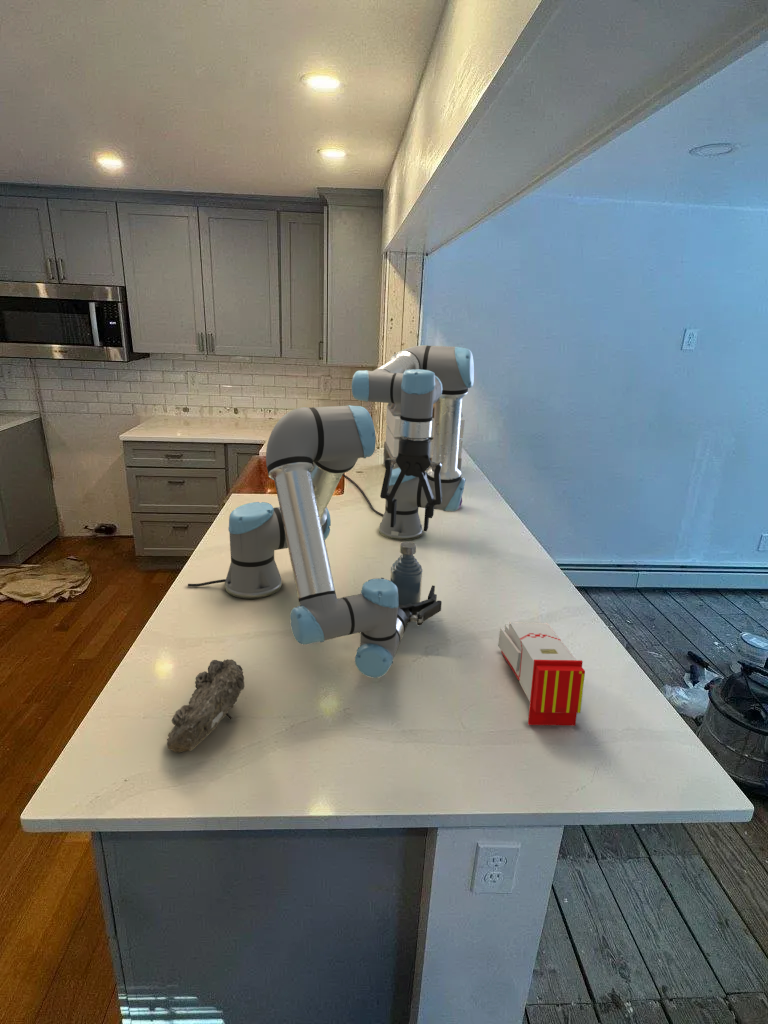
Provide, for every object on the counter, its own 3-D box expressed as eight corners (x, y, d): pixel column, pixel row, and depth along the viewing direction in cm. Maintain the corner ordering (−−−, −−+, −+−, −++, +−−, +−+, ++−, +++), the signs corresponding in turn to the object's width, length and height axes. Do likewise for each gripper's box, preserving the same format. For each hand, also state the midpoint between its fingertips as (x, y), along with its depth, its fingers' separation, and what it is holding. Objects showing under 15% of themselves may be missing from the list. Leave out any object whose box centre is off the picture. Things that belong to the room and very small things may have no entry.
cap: (400, 548, 146) (400, 540, 145) (415, 549, 145) (416, 541, 145) (399, 554, 142) (400, 547, 141) (415, 555, 142) (416, 548, 141)
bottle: (389, 602, 153) (392, 538, 147) (419, 603, 153) (424, 540, 147) (388, 617, 146) (391, 551, 139) (419, 619, 145) (424, 553, 139)
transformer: (382, 463, 289) (386, 382, 275) (445, 464, 293) (451, 384, 279) (390, 482, 257) (394, 392, 243) (460, 483, 261) (468, 394, 247)
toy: (544, 607, 134) (594, 667, 105) (539, 659, 137) (586, 732, 108) (493, 606, 134) (529, 666, 105) (489, 658, 137) (523, 731, 107)
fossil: (192, 660, 117) (244, 628, 112) (224, 691, 120) (276, 661, 115) (142, 746, 98) (202, 712, 93) (182, 779, 101) (242, 748, 96)
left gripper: (336, 632, 133) (361, 591, 153) (441, 650, 128) (453, 606, 147) (336, 604, 131) (362, 566, 150) (444, 621, 125) (456, 580, 145)
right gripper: (460, 438, 135) (452, 527, 143) (376, 430, 139) (373, 517, 147) (456, 444, 128) (448, 538, 136) (368, 436, 132) (365, 527, 140)
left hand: (407, 586), depth 149 cm, fingers open, 13 cm apart
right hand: (409, 527), depth 141 cm, fingers open, 8 cm apart
